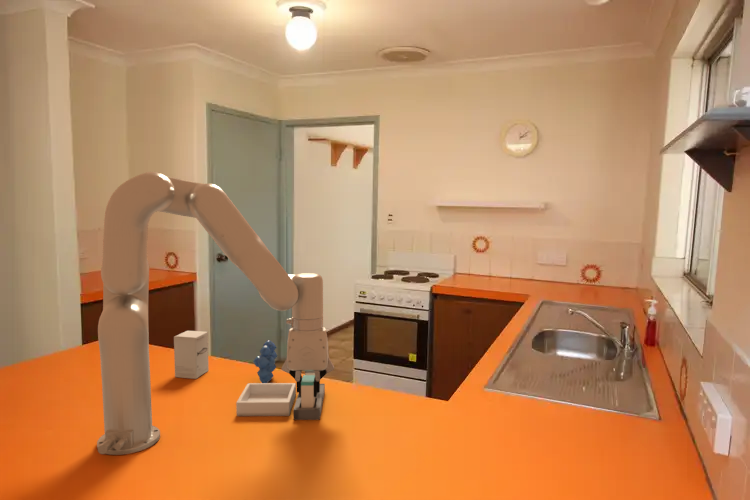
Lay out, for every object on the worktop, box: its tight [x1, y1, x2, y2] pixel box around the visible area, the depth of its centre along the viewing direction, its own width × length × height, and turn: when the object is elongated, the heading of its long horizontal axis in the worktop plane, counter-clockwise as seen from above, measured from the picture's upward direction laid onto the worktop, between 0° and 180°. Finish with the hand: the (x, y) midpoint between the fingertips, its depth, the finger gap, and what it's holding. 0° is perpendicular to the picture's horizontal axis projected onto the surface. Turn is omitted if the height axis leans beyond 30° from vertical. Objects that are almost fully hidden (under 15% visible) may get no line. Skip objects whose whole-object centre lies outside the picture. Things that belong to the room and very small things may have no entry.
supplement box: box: [173, 330, 210, 380], centre depth 157 cm, size 7×7×13 cm
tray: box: [235, 382, 297, 417], centre depth 135 cm, size 13×13×4 cm
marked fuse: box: [301, 374, 315, 408], centre depth 130 cm, size 5×3×9 cm, turn 2°
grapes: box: [252, 339, 278, 383], centre depth 151 cm, size 12×7×12 cm, turn 174°
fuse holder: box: [292, 383, 326, 421], centre depth 135 cm, size 17×6×2 cm, turn 2°
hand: (308, 394), depth 130 cm, fingers closed on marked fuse, 3 cm apart
